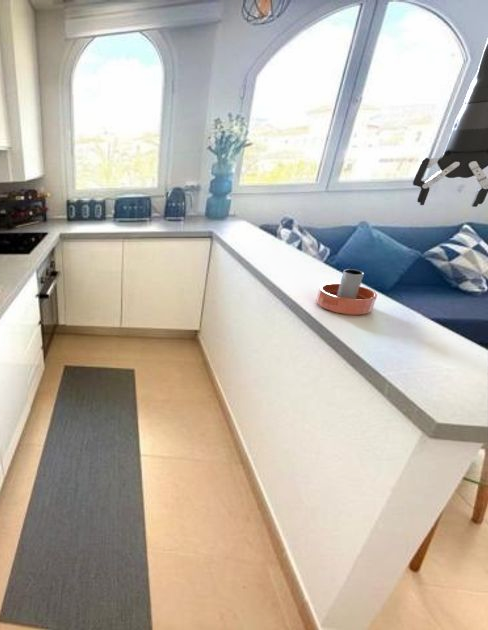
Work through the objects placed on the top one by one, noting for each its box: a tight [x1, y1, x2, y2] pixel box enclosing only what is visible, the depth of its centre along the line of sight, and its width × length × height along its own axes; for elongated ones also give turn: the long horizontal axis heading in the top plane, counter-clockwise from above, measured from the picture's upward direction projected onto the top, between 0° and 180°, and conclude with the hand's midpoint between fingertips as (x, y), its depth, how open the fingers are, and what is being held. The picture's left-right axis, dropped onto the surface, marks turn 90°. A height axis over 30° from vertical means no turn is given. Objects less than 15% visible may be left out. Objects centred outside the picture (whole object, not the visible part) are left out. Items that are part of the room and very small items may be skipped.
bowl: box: [315, 282, 378, 316], centre depth 101 cm, size 13×13×5 cm
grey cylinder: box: [337, 269, 365, 299], centre depth 100 cm, size 4×4×10 cm
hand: (446, 205), depth 80 cm, fingers open, 8 cm apart
